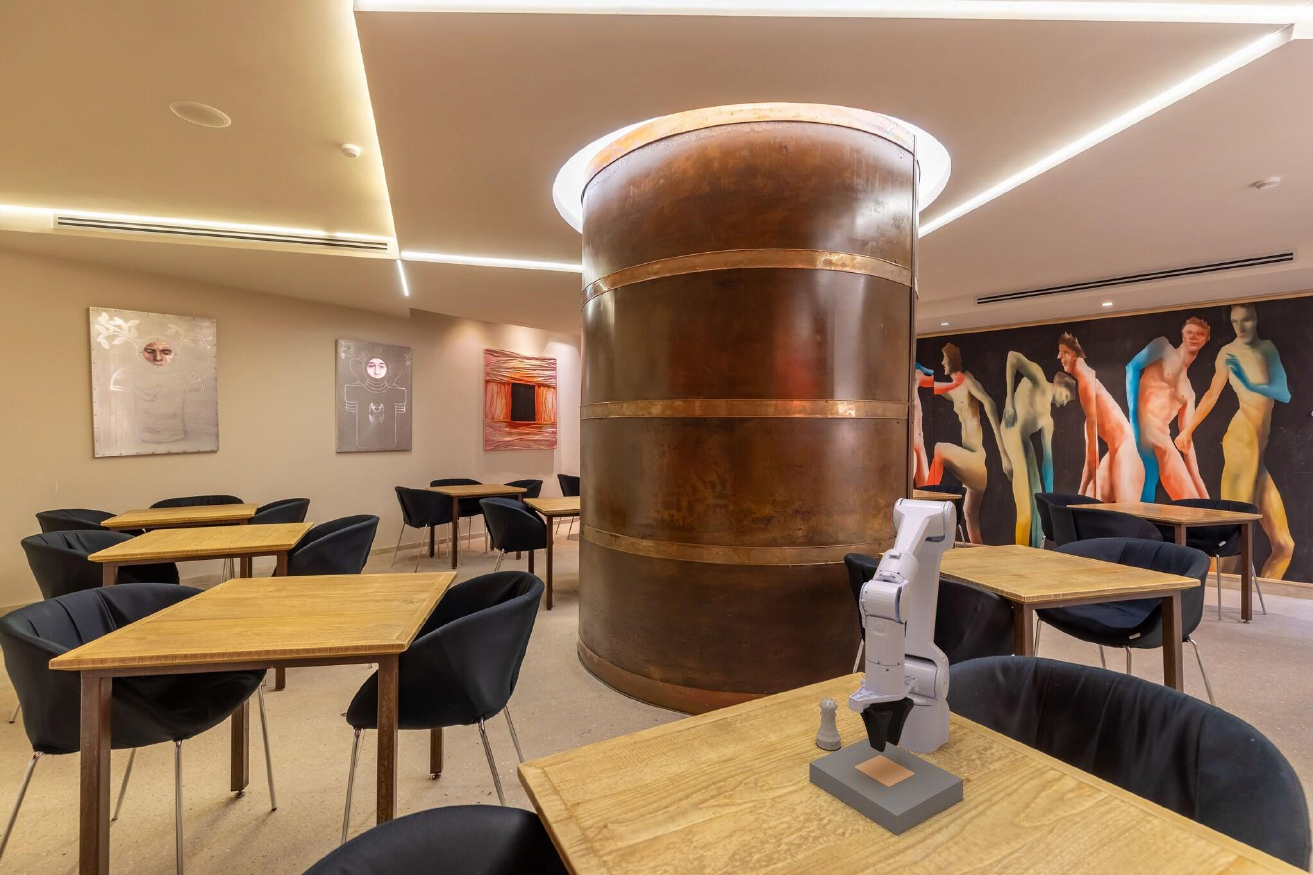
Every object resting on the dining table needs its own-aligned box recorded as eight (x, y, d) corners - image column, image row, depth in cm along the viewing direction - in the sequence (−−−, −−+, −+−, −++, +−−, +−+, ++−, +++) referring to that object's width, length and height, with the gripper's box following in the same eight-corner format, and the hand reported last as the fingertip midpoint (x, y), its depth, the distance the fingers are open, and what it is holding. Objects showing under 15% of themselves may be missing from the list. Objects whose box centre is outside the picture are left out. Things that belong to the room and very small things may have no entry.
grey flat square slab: (874, 751, 106) (874, 734, 106) (963, 798, 93) (963, 778, 93) (809, 781, 97) (809, 761, 97) (896, 837, 84) (897, 815, 84)
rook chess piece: (843, 752, 106) (842, 706, 106) (816, 750, 107) (816, 704, 107) (839, 739, 110) (839, 695, 110) (814, 737, 111) (814, 693, 111)
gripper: (891, 642, 102) (891, 723, 102) (832, 660, 94) (832, 747, 94) (930, 655, 96) (930, 741, 96) (870, 676, 88) (870, 769, 88)
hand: (884, 745), depth 95 cm, fingers open, 3 cm apart
